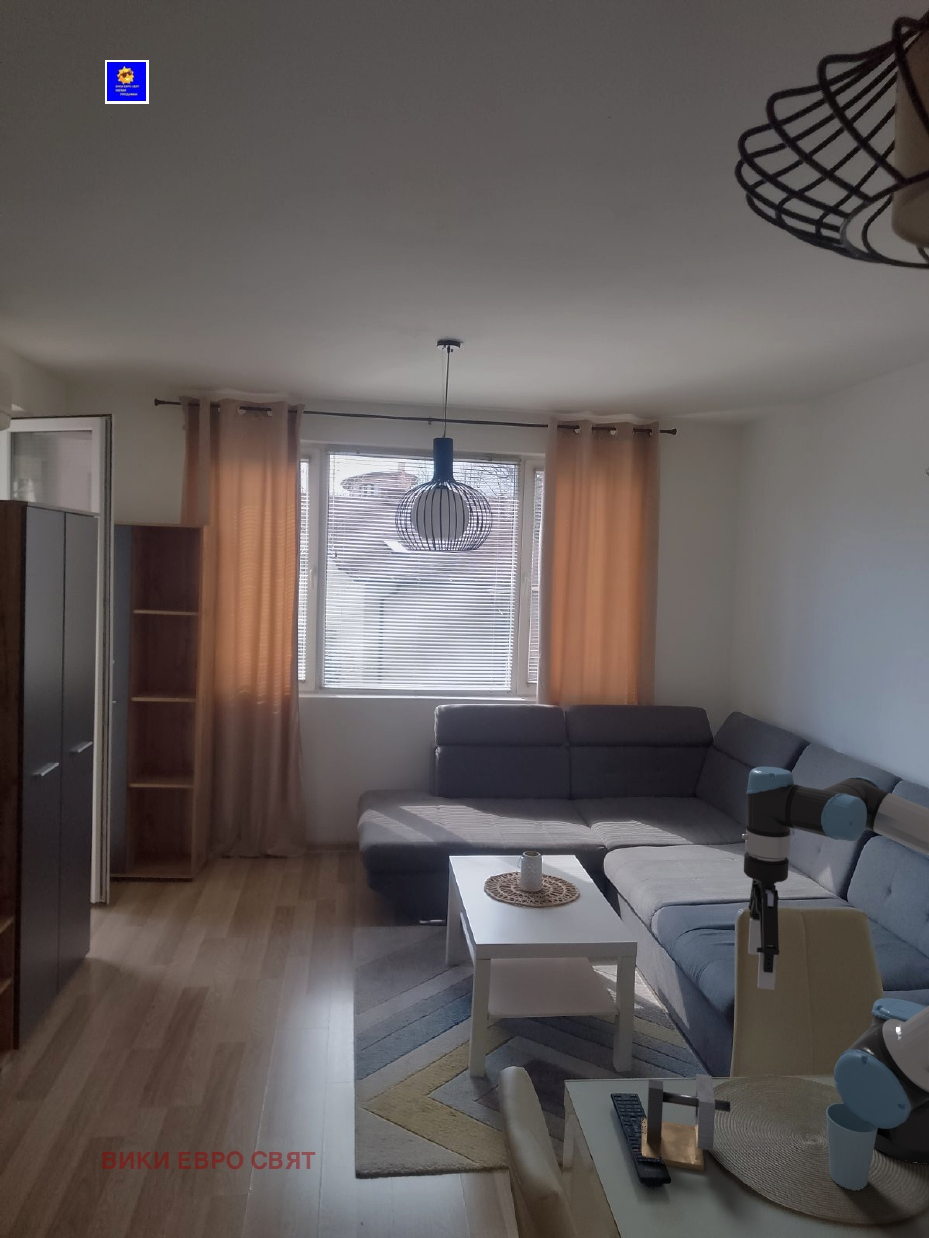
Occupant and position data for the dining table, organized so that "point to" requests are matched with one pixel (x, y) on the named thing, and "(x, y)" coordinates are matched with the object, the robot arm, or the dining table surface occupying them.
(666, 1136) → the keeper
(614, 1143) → the dining table surface
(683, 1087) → the dining table surface
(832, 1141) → the cup
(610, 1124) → the dining table surface
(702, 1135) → the link
